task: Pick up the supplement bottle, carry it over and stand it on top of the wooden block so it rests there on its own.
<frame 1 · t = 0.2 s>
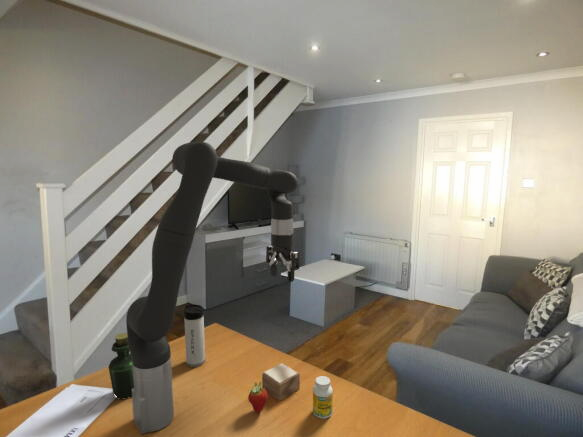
hand: (282, 278, 117), 29 cm above the table, fingers open, 8 cm apart
potion bottle: (126, 393, 102), on the table
fruit: (258, 411, 95), on the table
travel mug: (195, 362, 118), on the table
supplement bottle: (322, 413, 94), on the table
wooden block: (280, 388, 104), on the table
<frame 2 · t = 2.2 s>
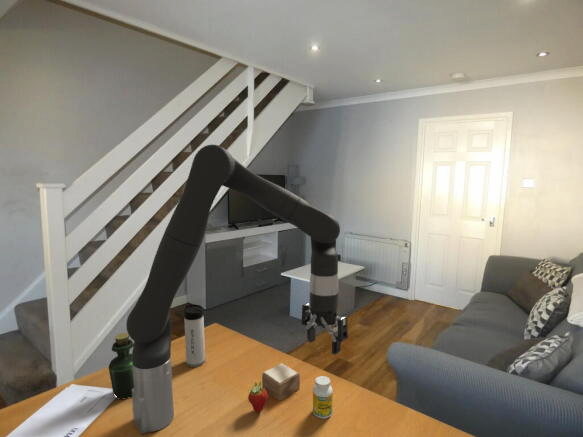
hand: (323, 347, 92), 19 cm above the table, fingers open, 8 cm apart
nothing on the table moved.
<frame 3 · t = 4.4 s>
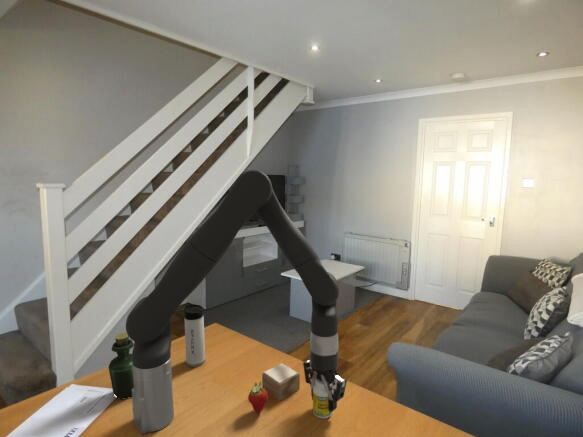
hand: (323, 404, 94), 2 cm above the table, fingers closed on supplement bottle, 5 cm apart
supplement bottle: (322, 413, 94), on the table, touching gripper
everything else where it was.
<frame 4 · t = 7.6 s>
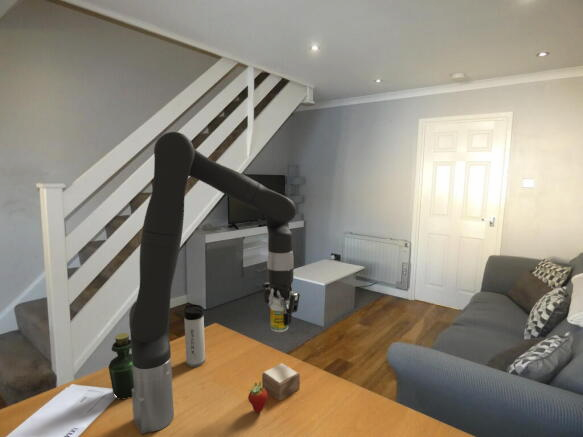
hand: (280, 321, 101), 22 cm above the table, fingers closed on supplement bottle, 5 cm apart
supplement bottle: (279, 329, 101), point 19 cm above the table, touching gripper
everything else where it was.
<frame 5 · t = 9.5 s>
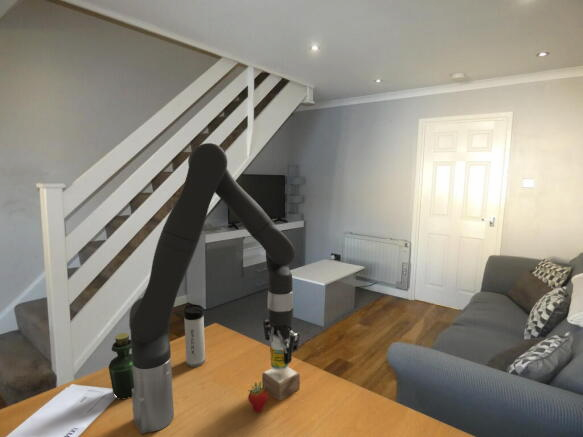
hand: (280, 358, 103), 10 cm above the table, fingers closed on supplement bottle, 5 cm apart
supplement bottle: (279, 366, 103), point 7 cm above the table, touching gripper
everything else where it was.
when the fingers open (8 cm above the table, at t = 10.9 s): supplement bottle stays where it is, resting on wooden block.
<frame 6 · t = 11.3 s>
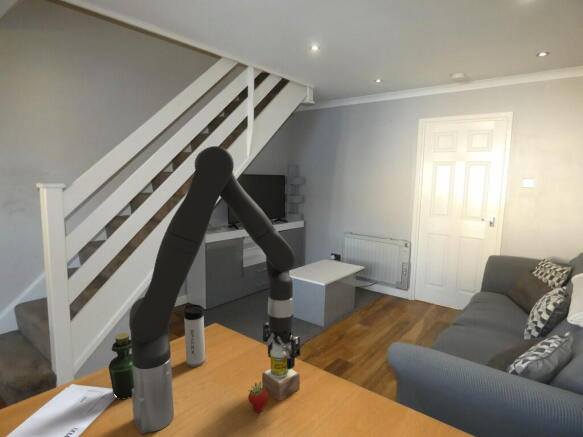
hand: (280, 362, 103), 9 cm above the table, fingers open, 8 cm apart
supplement bottle: (279, 373, 103), point 5 cm above the table, touching wooden block
everything else where it was.
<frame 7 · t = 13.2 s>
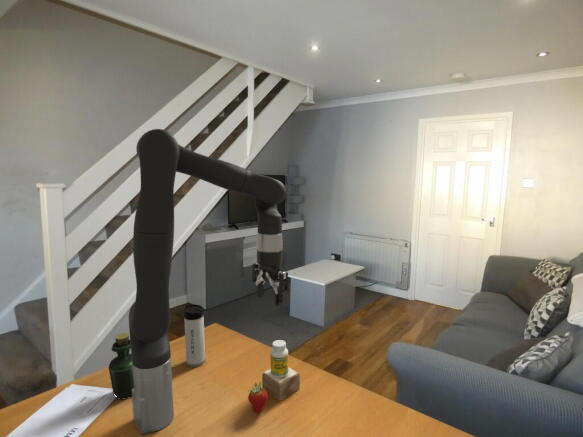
hand: (269, 301, 102), 27 cm above the table, fingers open, 8 cm apart
nothing on the table moved.
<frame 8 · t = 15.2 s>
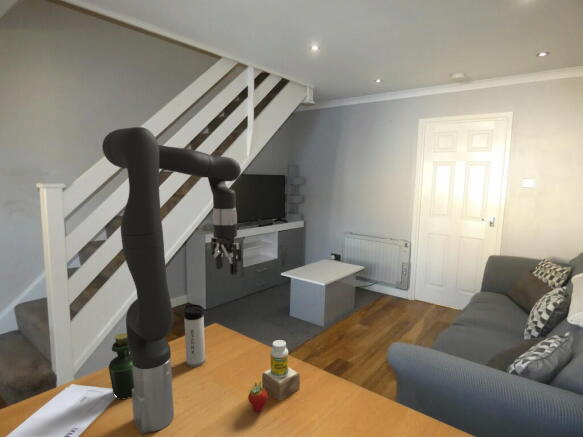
hand: (226, 271, 111), 33 cm above the table, fingers open, 8 cm apart
nothing on the table moved.
at the end: supplement bottle inside the target area on the wooden block (0.5 cm from its centre), point 5.1 cm above the wooden block's base; supplement bottle tilted 0°; the gripper is holding nothing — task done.
